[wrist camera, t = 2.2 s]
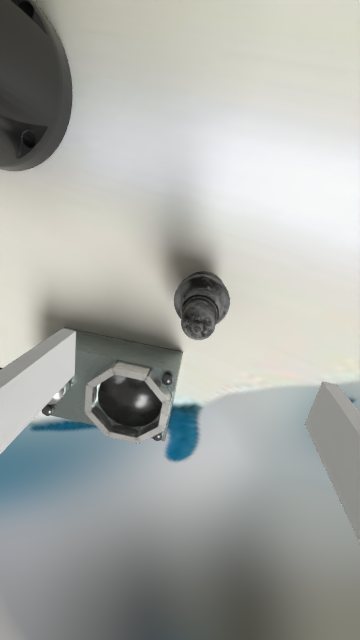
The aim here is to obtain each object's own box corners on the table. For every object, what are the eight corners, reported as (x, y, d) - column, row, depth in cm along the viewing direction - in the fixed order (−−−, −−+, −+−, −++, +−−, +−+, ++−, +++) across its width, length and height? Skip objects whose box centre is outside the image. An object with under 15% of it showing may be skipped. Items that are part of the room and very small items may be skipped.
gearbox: (62, 390, 39) (32, 424, 32) (63, 327, 35) (29, 350, 29) (170, 414, 38) (161, 454, 31) (182, 352, 34) (175, 382, 28)
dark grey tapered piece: (198, 326, 33) (190, 379, 22) (168, 289, 32) (143, 325, 21) (238, 298, 31) (252, 339, 20) (207, 258, 30) (203, 277, 19)
